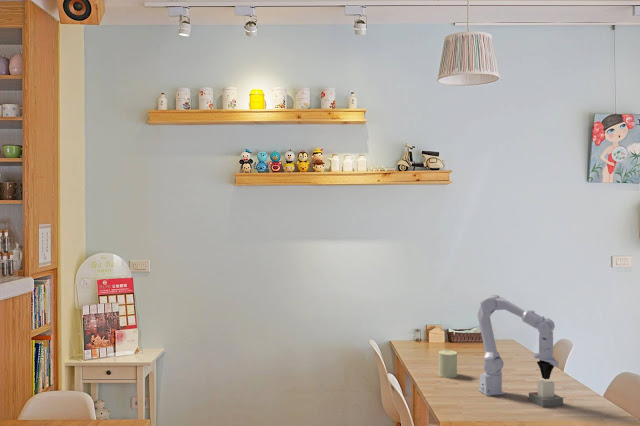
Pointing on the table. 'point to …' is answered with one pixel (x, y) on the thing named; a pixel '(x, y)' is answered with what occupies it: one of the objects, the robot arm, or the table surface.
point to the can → (447, 363)
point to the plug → (545, 388)
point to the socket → (545, 400)
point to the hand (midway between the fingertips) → (545, 378)
